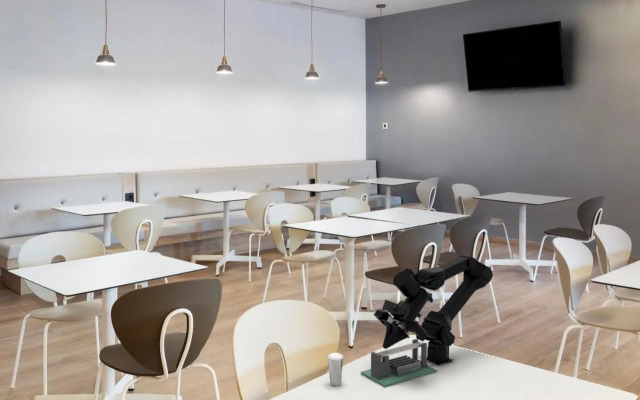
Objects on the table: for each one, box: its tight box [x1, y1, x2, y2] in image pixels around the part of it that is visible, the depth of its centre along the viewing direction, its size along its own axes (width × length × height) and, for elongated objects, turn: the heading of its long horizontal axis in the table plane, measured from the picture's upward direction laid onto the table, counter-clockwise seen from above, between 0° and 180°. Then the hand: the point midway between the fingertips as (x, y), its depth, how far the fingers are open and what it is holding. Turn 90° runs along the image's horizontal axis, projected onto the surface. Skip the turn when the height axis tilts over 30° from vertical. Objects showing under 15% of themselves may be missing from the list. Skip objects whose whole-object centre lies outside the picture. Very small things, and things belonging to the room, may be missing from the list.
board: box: [360, 357, 438, 388], centre depth 185 cm, size 20×12×1 cm, turn 123°
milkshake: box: [327, 352, 344, 387], centre depth 177 cm, size 5×5×10 cm
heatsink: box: [389, 354, 421, 377], centre depth 185 cm, size 9×7×3 cm
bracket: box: [411, 338, 429, 369], centre depth 189 cm, size 2×5×8 cm, turn 33°
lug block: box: [370, 351, 390, 380], centre depth 180 cm, size 4×4×7 cm
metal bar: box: [376, 340, 423, 362], centre depth 184 cm, size 17×2×2 cm, turn 123°
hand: (384, 348), depth 181 cm, fingers closed
